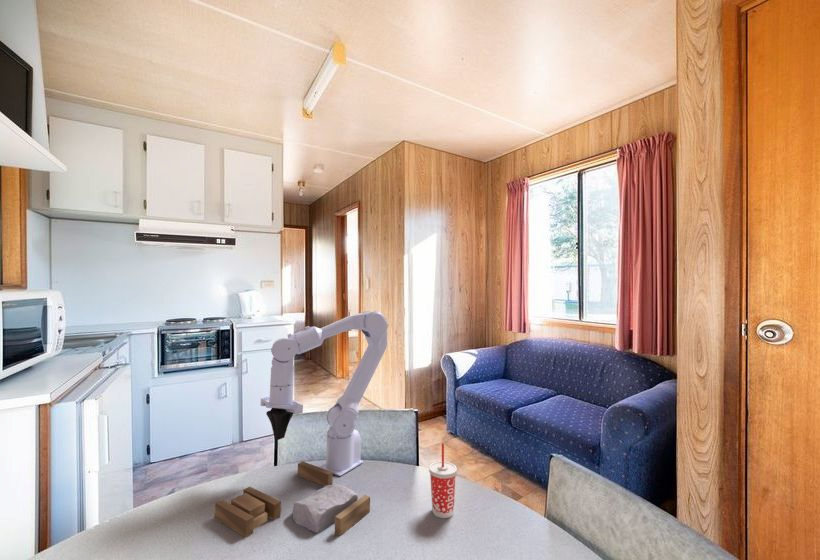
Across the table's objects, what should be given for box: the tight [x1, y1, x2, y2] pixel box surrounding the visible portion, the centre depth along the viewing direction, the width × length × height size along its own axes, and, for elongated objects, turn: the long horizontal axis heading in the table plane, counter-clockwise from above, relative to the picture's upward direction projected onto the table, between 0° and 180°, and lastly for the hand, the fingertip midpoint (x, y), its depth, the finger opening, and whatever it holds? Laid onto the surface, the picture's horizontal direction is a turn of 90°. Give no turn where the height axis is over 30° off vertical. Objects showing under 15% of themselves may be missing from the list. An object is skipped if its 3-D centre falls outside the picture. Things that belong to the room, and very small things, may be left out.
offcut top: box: [230, 493, 265, 518], centre depth 68 cm, size 3×7×2 cm, turn 57°
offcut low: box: [253, 512, 268, 531], centre depth 67 cm, size 4×8×2 cm, turn 59°
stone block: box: [292, 484, 359, 534], centre depth 70 cm, size 12×5×10 cm
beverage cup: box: [428, 442, 458, 519], centre depth 71 cm, size 6×6×14 cm
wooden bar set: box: [214, 461, 371, 539], centre depth 70 cm, size 23×26×3 cm
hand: (279, 438), depth 85 cm, fingers closed
